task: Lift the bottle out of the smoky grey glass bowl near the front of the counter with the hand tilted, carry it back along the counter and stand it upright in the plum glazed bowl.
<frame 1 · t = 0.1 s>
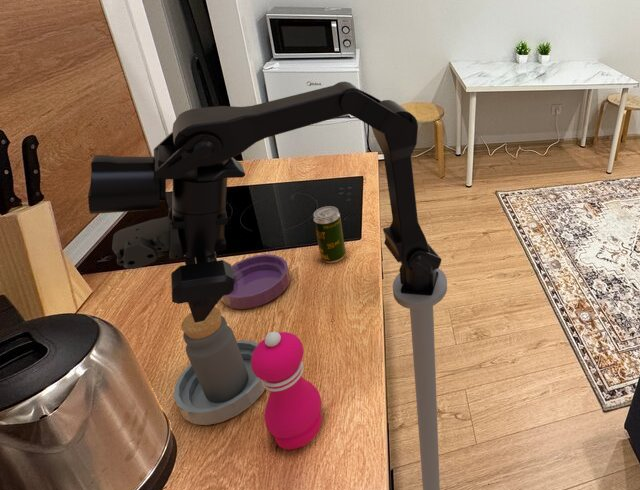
hand: (196, 299, 60), 17 cm above the countertop, tool pointing down, fingers open, 9 cm apart
beer can: (333, 256, 95), on the countertop
bottle: (227, 386, 66), resting on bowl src
pepper mill: (299, 428, 62), on the countertop
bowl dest: (257, 287, 85), on the countertop
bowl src: (228, 387, 66), on the countertop
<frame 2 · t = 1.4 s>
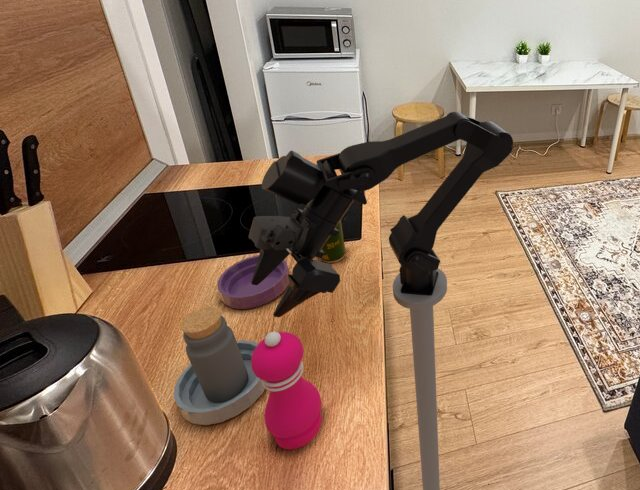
hand: (264, 299, 66), 13 cm above the countertop, tool tilted 45°, fingers open, 9 cm apart
nothing on the countertop moved.
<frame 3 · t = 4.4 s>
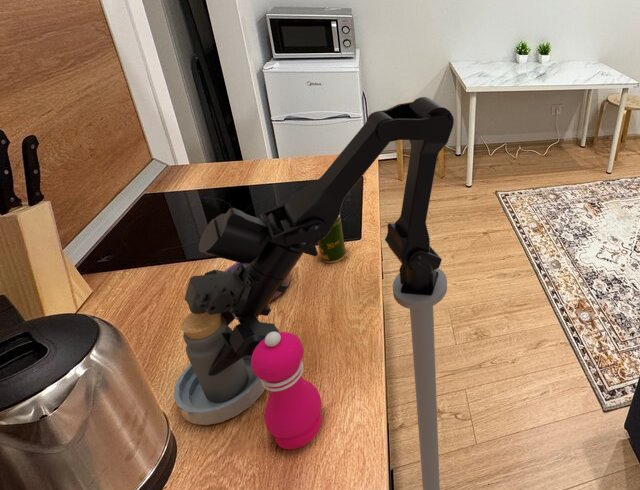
hand: (205, 361, 62), 8 cm above the countertop, tool tilted 45°, fingers closed on bottle, 6 cm apart
bottle: (228, 386, 66), resting on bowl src, touching gripper
everything else where it was.
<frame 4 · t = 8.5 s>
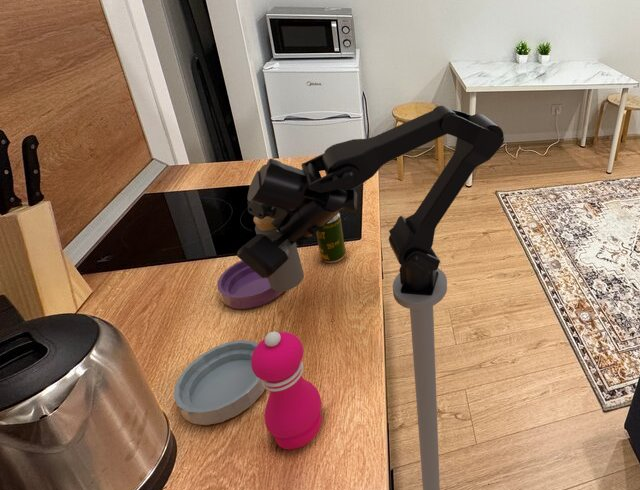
hand: (272, 249, 76), 13 cm above the countertop, tool tilted 45°, fingers closed on bottle, 6 cm apart
bottle: (287, 281, 79), point 6 cm above the countertop, touching gripper
everything else where it was.
when the fingers open (8 cm above the countertop, at t = 12.6 s): bottle stays where it is, resting on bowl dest.
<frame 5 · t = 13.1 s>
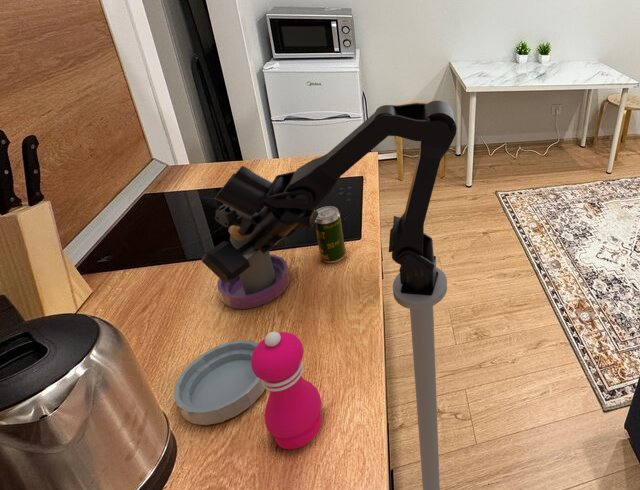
hand: (242, 254, 82), 8 cm above the countertop, tool tilted 45°, fingers open, 9 cm apart
bottle: (261, 286, 85), resting on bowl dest, touching gripper
everything else where it was.
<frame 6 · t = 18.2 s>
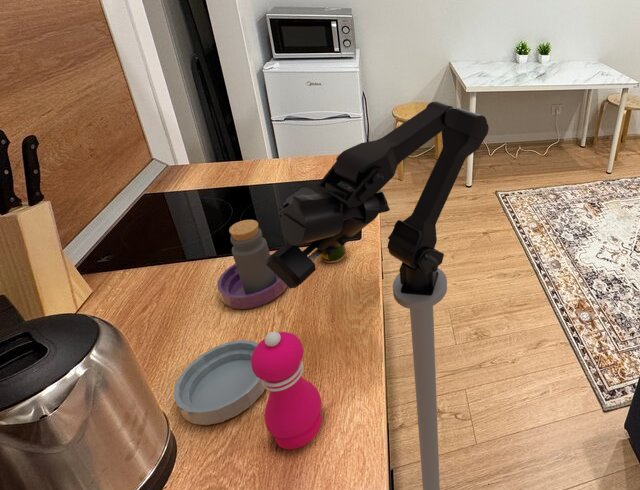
hand: (300, 256, 75), 14 cm above the countertop, tool tilted 45°, fingers open, 9 cm apart
bottle: (261, 286, 85), resting on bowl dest
everything else where it was.
at the end: bottle 0.9 cm off-centre in the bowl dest, point 0.3 cm above the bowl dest's base; bottle tilted 0°; the gripper is holding nothing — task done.
